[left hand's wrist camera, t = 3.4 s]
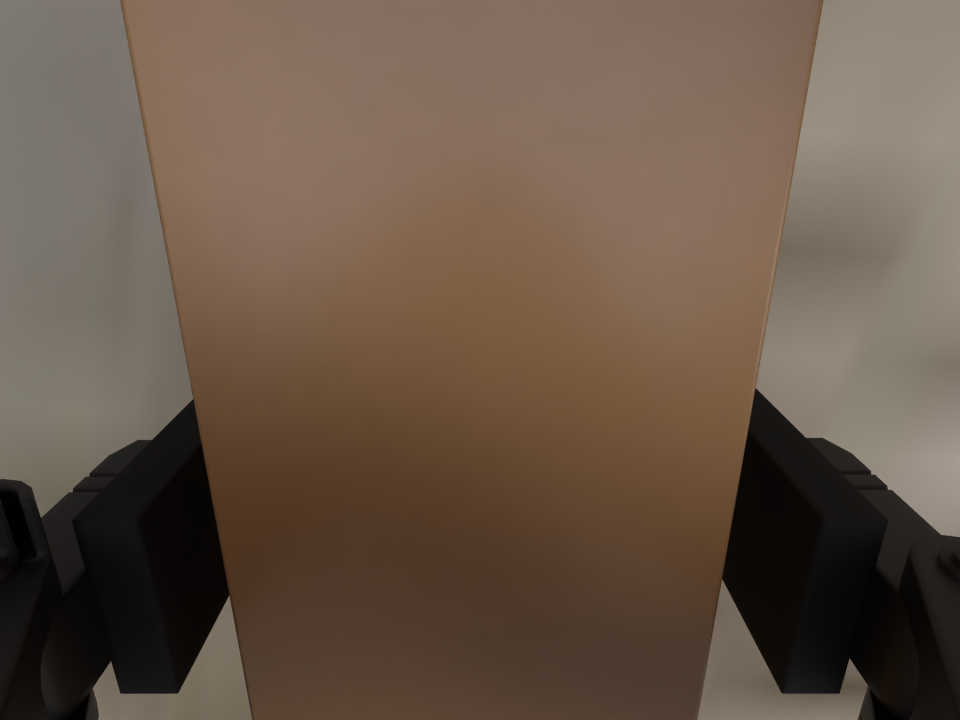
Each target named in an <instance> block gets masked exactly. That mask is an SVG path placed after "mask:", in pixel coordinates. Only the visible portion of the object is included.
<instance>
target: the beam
mask: <svg viewBox="0 0 960 720" xmlns="http://www.w3.org/2000/svg"><path fill="white" fill-rule="evenodd" d="M120 1H121V6H122V12H123V17H124V23H125V28H126V34H127V39H128V44H129V50H130V55H131V61H132V66H133V72H134V77H135V83H136V88H137V94H138V99H139V104H140V110H141V115H142V121H143V126H144V132H145V137H146V143H147V148H148V153H149V159H150V164H151V170H152V175H153V181H154V186H155V192H156V197H157V203H158V208H159V213H160V219H161V224H162V230H163V235H164V241H165V246H166V252H167V257H168V262H169V268H170V273H171V279H172V284H173V290H174V295H175V301H176V306H177V311H178V317H179V322H180V328H181V333H182V339H183V344H184V350H185V355H186V361H187V366H188V371H189V377H190V382H191V388H192V393H193V399H194V404H195V410H196V415H197V420H198V426H199V431H200V437H201V442H202V448H203V453H204V459H205V464H206V470H207V475H208V480H209V486H210V491H211V497H212V502H213V508H214V513H215V519H216V524H217V529H218V535H219V540H220V546H221V551H222V557H223V562H224V568H225V573H226V578H227V584H228V589H229V595H230V600H231V606H232V611H233V617H234V622H235V628H236V633H237V638H238V644H239V649H240V655H241V660H242V666H243V671H244V677H245V682H246V687H247V693H248V698H249V704H250V709H251V715H252V720H697V718H698V713H699V707H700V701H701V695H702V690H703V684H704V678H705V673H706V667H707V661H708V656H709V650H710V644H711V638H712V633H713V627H714V621H715V616H716V610H717V604H718V598H719V593H720V587H721V581H722V576H723V570H724V564H725V558H726V553H727V547H728V541H729V536H730V530H731V524H732V518H733V513H734V507H735V501H736V496H737V490H738V484H739V479H740V473H741V467H742V461H743V456H744V450H745V444H746V439H747V433H748V427H749V421H750V416H751V410H752V404H753V399H754V393H755V387H756V381H757V376H758V370H759V364H760V359H761V353H762V347H763V341H764V336H765V330H766V324H767V319H768V313H769V307H770V302H771V296H772V290H773V284H774V279H775V273H776V267H777V262H778V256H779V250H780V244H781V239H782V233H783V227H784V222H785V216H786V210H787V204H788V199H789V193H790V187H791V182H792V176H793V170H794V164H795V159H796V153H797V147H798V142H799V136H800V130H801V125H802V119H803V113H804V107H805V102H806V96H807V90H808V85H809V79H810V73H811V67H812V62H813V56H814V50H815V45H816V39H817V33H818V27H819V22H820V16H821V10H822V5H823V0H120Z"/></svg>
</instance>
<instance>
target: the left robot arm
mask: <svg viewBox="0 0 960 720" xmlns="http://www.w3.org/2000/svg"><path fill="white" fill-rule="evenodd" d="M722 579H723V581H724V583H725V585H726V587H727V589H728V591H729V593H730V595H731V597H732V599H733V600H734V602H735V604H736V606H737V608H738V610H739V612H740V614H741V616H742V618H743V620H744V622H745V624H746V625H747V627H748V629H749V631H750V633H751V635H752V637H753V639H754V641H755V643H756V645H757V647H758V648H759V650H760V652H761V654H762V656H763V658H764V660H765V662H766V664H767V666H768V668H769V670H770V671H771V673H772V675H773V677H774V679H775V681H776V683H777V685H778V687H779V689H780V691H781V693H782V694H839V693H840V690H841V686H842V683H843V679H844V676H845V672H846V669H847V665H848V662H849V658H850V660H851V661H852V662H853V664H854V665H855V667H856V668H857V670H858V671H859V673H860V674H861V676H862V677H863V679H864V680H865V682H866V683H867V685H868V688H867V691H866V694H865V697H864V701H863V704H862V707H861V711H860V714H859V717H858V720H960V537H954V536H945V535H940V534H939V533H938V532H937V531H936V530H935V529H934V528H933V527H932V526H931V525H929V524H928V523H927V522H926V521H925V520H924V519H923V518H922V517H921V516H920V515H918V514H917V513H916V512H915V511H914V510H913V509H912V508H911V507H910V506H909V505H908V504H906V503H905V502H904V501H903V500H902V499H901V498H900V497H899V496H898V495H897V494H895V493H894V492H893V491H892V490H888V489H887V485H886V484H885V483H883V482H882V481H881V480H880V479H879V478H878V477H877V476H876V475H871V471H870V470H869V469H868V468H867V467H866V466H865V465H864V464H863V463H861V462H860V461H859V460H858V459H857V458H856V457H855V456H854V455H853V454H852V453H850V452H848V451H846V450H844V449H842V448H840V447H839V446H837V445H835V444H833V443H831V442H829V441H827V440H825V439H823V438H805V437H804V436H803V435H802V434H801V433H800V432H799V431H798V430H797V429H796V428H795V427H794V426H793V425H792V424H791V423H790V422H789V421H788V420H787V419H786V418H785V417H784V416H783V415H782V414H781V413H780V412H779V411H778V410H777V409H776V408H775V407H774V406H773V405H772V404H771V403H770V402H769V401H768V400H767V399H766V398H765V397H764V396H763V395H762V394H761V393H760V392H759V391H758V390H757V389H756V388H755V393H754V399H753V404H752V410H751V416H750V421H749V427H748V433H747V439H746V444H745V450H744V456H743V461H742V467H741V473H740V479H739V484H738V490H737V496H736V501H735V507H734V513H733V518H732V524H731V530H730V536H729V541H728V547H727V553H726V558H725V564H724V570H723V576H722ZM228 597H229V589H228V584H227V578H226V573H225V568H224V562H223V557H222V551H221V546H220V540H219V535H218V529H217V524H216V519H215V513H214V508H213V502H212V497H211V491H210V486H209V480H208V475H207V470H206V464H205V459H204V453H203V448H202V442H201V437H200V431H199V426H198V420H197V415H196V410H195V404H194V399H193V400H192V401H191V402H190V403H189V404H188V405H187V406H186V407H185V408H184V409H183V410H182V411H181V412H180V413H179V414H178V415H177V416H176V417H175V418H174V419H173V420H172V421H171V422H170V423H169V424H168V425H167V426H166V427H165V428H164V429H163V430H162V431H161V432H160V433H159V434H158V435H157V436H156V437H155V438H154V439H153V440H137V441H135V442H134V443H132V444H130V445H128V446H126V447H124V448H122V449H120V450H119V451H117V452H115V453H113V454H111V455H109V456H108V457H107V458H106V459H105V460H104V461H103V462H102V463H100V464H99V465H98V466H97V467H96V468H95V469H94V470H93V471H92V472H91V473H90V476H89V477H85V478H84V479H83V480H82V481H81V482H80V483H79V484H78V485H77V486H75V487H74V488H73V492H69V493H68V494H67V495H66V496H65V497H63V498H62V499H61V500H60V501H59V502H58V503H57V504H56V505H55V506H54V507H53V508H52V509H50V510H49V511H48V512H47V513H46V514H45V515H44V516H43V517H42V518H41V517H40V514H39V510H38V507H37V504H36V501H35V497H34V494H33V491H32V488H31V487H30V486H28V485H27V484H25V483H23V482H22V481H15V480H6V479H0V720H98V716H99V714H98V707H97V701H96V697H95V694H94V691H93V687H94V685H95V684H96V682H97V681H98V679H99V678H100V676H101V675H102V673H103V672H104V670H105V669H106V667H107V666H108V664H109V663H110V661H111V662H112V665H113V669H114V672H115V676H116V679H117V683H118V686H119V690H120V693H121V694H178V692H179V691H180V689H181V687H182V685H183V683H184V681H185V679H186V677H187V675H188V673H189V671H190V669H191V668H192V666H193V664H194V662H195V660H196V658H197V656H198V654H199V652H200V650H201V648H202V646H203V645H204V643H205V641H206V639H207V637H208V635H209V633H210V631H211V629H212V627H213V625H214V623H215V622H216V620H217V618H218V616H219V614H220V612H221V610H222V608H223V606H224V604H225V602H226V600H227V599H228Z"/></svg>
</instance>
